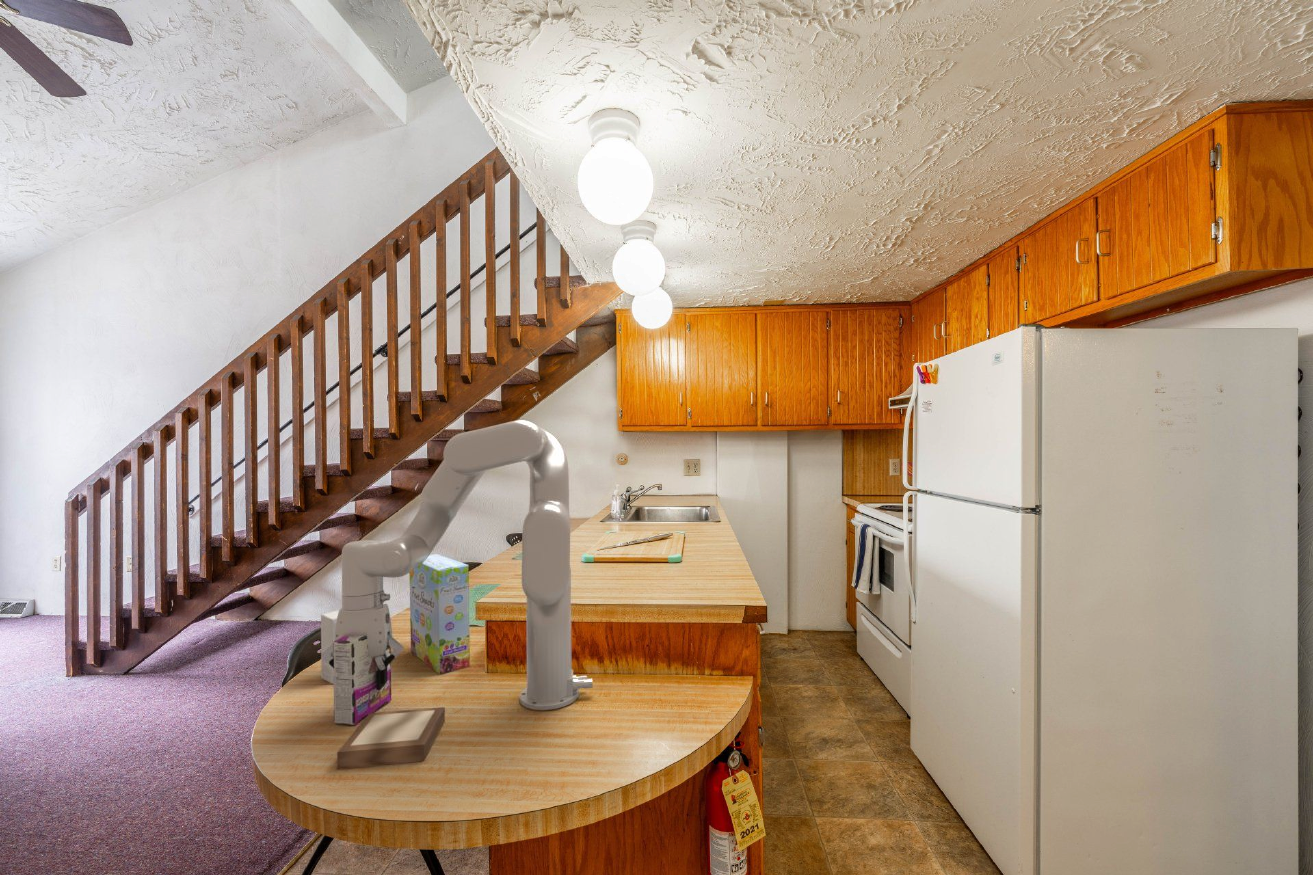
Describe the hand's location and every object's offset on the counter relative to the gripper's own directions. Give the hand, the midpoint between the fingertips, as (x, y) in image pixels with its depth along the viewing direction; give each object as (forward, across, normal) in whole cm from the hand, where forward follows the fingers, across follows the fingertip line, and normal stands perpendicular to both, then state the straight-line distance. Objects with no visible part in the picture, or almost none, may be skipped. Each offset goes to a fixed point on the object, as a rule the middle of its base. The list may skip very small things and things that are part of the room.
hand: (363, 687), depth 110 cm
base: (+5, -11, +14) cm, 18 cm away
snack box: (+5, -8, -28) cm, 30 cm away
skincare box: (+5, +12, -21) cm, 25 cm away
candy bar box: (+5, 0, 0) cm, 5 cm away
